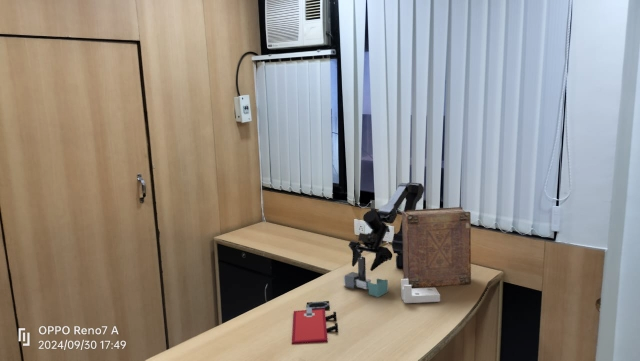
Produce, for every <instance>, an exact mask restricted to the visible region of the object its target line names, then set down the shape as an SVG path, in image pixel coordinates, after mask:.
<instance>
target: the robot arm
mask: <svg viewBox="0 0 640 361" xmlns="http://www.w3.org/2000/svg"><path fill="white" fill-rule="evenodd" d="M424 192H425V187H424V185H423V184H422V183H421V182H420V183H419V182H407V183H404V182H401V183H398V185H397V188H396V190H395V191H394V193H393V194H392V196H391V197H390V199H389V200H388V201H387V203H386V204H384V205H381V206H380V208H379V209H378V210H377V209H376V208H371V209H370V210H368V211H366V213H364V214H363V218H362V220H363V221H364V223H365V224H366V225H367V226H368V227H369V229H370V230H371V231H370V232H367V233H363V232H359V235H358V239H357V241H355V240H351V241H350V242H349V243H348V247H349V249H350V250H351V252H352V260H351V267H355V266H356V264H358V257H362V253H363V252H368V253H372V254H375V257H374V260H373V261H372V264H371V266H370V269H369V270H370V272H373V271H375V270H376V268H378V267H379V266H381V265H382V264H383V263H385V262H388V261H392V258H393V254H396V255H395V266H396V267H397V269H399V270H401V269H402V270H403V232H402V220H401V222H400V226H399V231H397V233H396V232H395V233H394V234H393V238H392V240H391V247H392V251H391V250H390V248H388V247H385V246H381V245H383V244H384V243H385V242H384V238H385V235H386V234H387V233H390V231H391V230H390V228H389V225H387V224H390V225H391V224H393V223H394V222H395V220H396V218H397V217H398V213H397V211H398V209H399V208H400V206H401V205H402V203H403V202H404V200H405V204H404V208H403V211H405V210H417V209H416V208H417V204H418V203H419V202H420V200H421V199H422V198H423V194H424ZM392 252H393V253H392Z"/></svg>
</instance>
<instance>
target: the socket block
mask: <svg viewBox="0 0 640 361" xmlns="http://www.w3.org/2000/svg"><path fill="white" fill-rule="evenodd" d="M388 285H389V284H388V279H386V278H385V279H382V278H377V279H376V283H373V282H371V283H369V288H368V295H369V296H373V297H376V298H380V297H382V296H383V295H385V294H387V293H388V292H389V291H388V290H389V288H388Z"/></svg>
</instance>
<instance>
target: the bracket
mask: <svg viewBox="0 0 640 361" xmlns="http://www.w3.org/2000/svg"><path fill="white" fill-rule="evenodd" d="M400 290H401V291H400V295H401V297H400V298H401V299H402V301H403V302H404V304H416V303H418V304H419V303H437V302H441V294H440V293H439V290H437V287H422V288H412V286H411V285H409V283H408V279H404V278H401V279H400Z"/></svg>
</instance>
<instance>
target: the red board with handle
mask: <svg viewBox="0 0 640 361" xmlns="http://www.w3.org/2000/svg"><path fill="white" fill-rule="evenodd" d="M330 308H331V307H330V301H329V300H325V301H324V300H323V301H309V302H306V309H305V310H304V309H302V310H294V311H293V317H292V319H293V320H292V332H291V333H292V335H291V344H292V345H299V344H300V345H301V344H318V343H328V342H329V340H328V333H329V332H333V331H335V333H339V325H338V322H336V321H337V312H336V311H333V312H332V313H333V314H330V315H327V316H326V309H330ZM332 319H333V321H334V325H333V326H330V327H329V326H328V327H327V321H329V320H332Z"/></svg>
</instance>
